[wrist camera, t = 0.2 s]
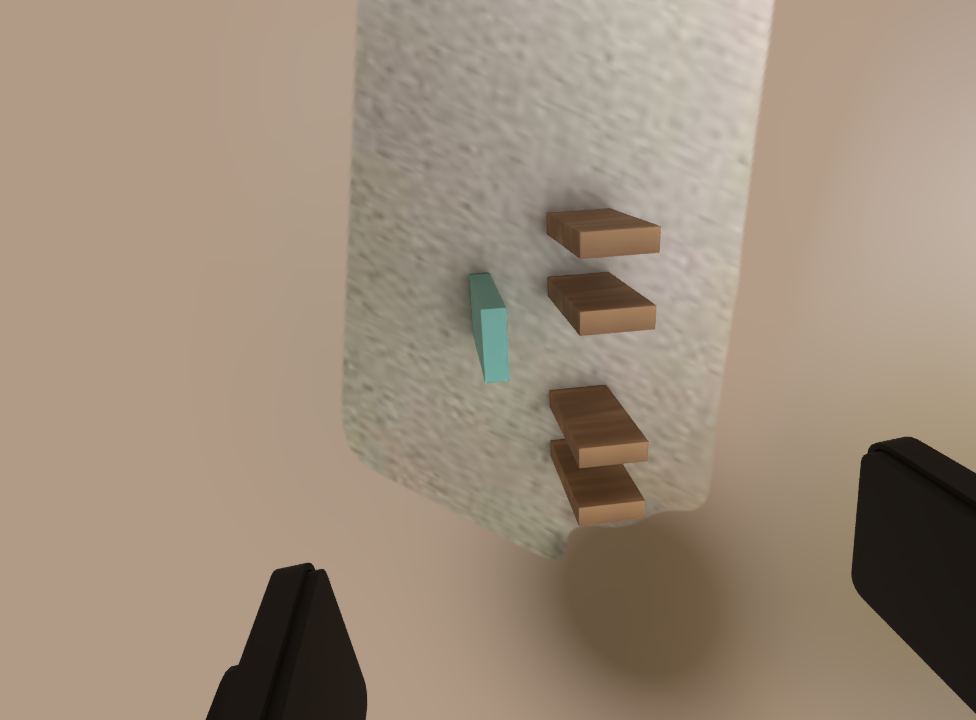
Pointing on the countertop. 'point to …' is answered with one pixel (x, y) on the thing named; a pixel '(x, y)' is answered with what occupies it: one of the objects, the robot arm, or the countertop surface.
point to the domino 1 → (489, 328)
